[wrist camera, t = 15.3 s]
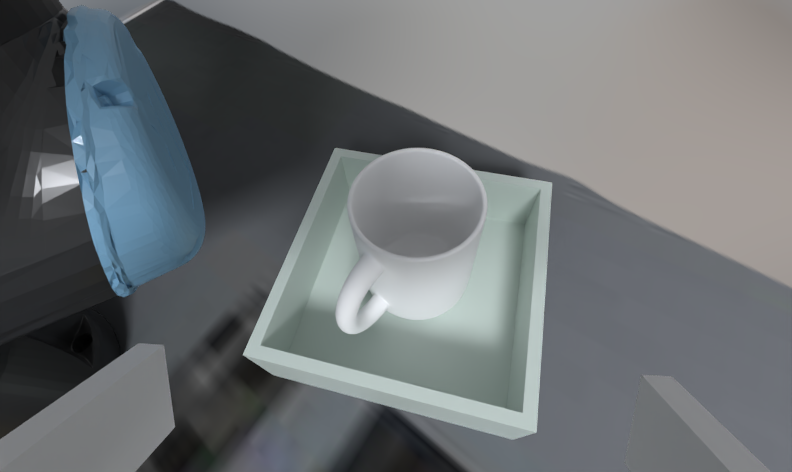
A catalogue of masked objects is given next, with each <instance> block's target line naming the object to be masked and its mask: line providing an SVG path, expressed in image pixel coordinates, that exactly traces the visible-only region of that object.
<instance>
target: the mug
mask: <svg viewBox="0 0 792 472" xmlns="http://www.w3.org/2000/svg"><path fill="white" fill-rule="evenodd" d="M487 209H488V201H487V195H486V191H485V188H484V186H483V184H482V182H481V180H480V178H479V177H478V175H477V174H476V173H475V172H474V170H473V169H472V168H471V167H470V166H468V165H467V164H466V163H465V162H463V161H462V160H460V159H459V158H457V157H455V156H453V155H451V154H448V153H446V152H443V151H439V150H435V149H429V148H407V149H400V150H396V151H393V152H390V153H387V154H385V155H383V156H381V157H378V158H377V159H375V160H374V161H372V162H371V163H369V164H368V165H367V166H366V167H365V168H364V169H363V170H362V171H361V172H360V173H359V174H358V176H357V177H356V178H355V180H354V182H353V184H352V186H351V189H350V191H349V195H348V200H347V211H348V217H349V220H350V224H351V228H352V232H353V235H354V239H355V243H356V246H357V250H358V254H359V257H360V260H359V261H358V262H357V263H356V265H355V266H354V268H353V269H352V271H351V272H350V274H349V275H348V277H347V279H346V281H345V283H344V284H343V287H342V289H341V291H340V294H339V297H338V301H337V305H336V312H335V315H336V321H337V324H338V326H339V328H340V329H341V330H342V331H343V332H345V333H347V334H358V333H360V332H363V331H364V330H366V329H368V328H369V327H370V326H371V325H373V324H374V323H375V322H376V321H377V320H378V319H379V318H380V317H381V316H382V315H383V314H384V313H385V311H386V310H387V311H388V312H389V313H391V314H393V315H395V316H398V317H401V318H405V319H409V320H425V319H430V318H434V317H437V316H439V315H441V314H443V313H445V312H447V311H448V310H449V309H451V308H452V307H453V306H454V305H455V304H456V303H457V302H458V301H459V299H460V298H461V296H462V295H463V293H464V291H465V289H466V287H467V284H468V281H469V278H470V274H471V270H472V267H473V263H474V259H475V256H476V252H477V248H478V245H479V241H480V238H481V234H482V230H483V227H484V223H485V219H486V216H487ZM368 290H370V292H371V294H372V295H373V296H372V297H371V299H370V300H369V301H368V302H367V303H366V304H365V305H364V306H363V307H362V308H361V309H360V310H359V307H360V305H361V302H362V300H363V299H364V297H365V295H366V293H367V292H368ZM358 310H359V311H358Z"/></svg>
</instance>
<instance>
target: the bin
mask: <svg viewBox="0 0 792 472" xmlns="http://www.w3.org/2000/svg"><path fill="white" fill-rule="evenodd" d="M381 156H383V155H377V154H371V153H365V152H358V151H352V150H346V149H340V148H335V149H334V151H333V153H332V156H331V158H330V160H329V162H328V165H327V167H326V169H325V171H324V174H323V176H322V178H321V180H320V183H319V185H318V187H317V189H316V192H315V194H314V196H313V198H312V201H311V203H310V205H309V207H308V210H307V212H306V214H305V216H304V219H303V221H302V223H301V225H300V227H299V230H298V232H297V234H296V236H295V239H294V241H293V243H292V245H291V248H290V250H289V252H288V254H287V257H286V259H285V261H284V263H283V266H282V268H281V270H280V272H279V275H278V277H277V279H276V281H275V284H274V286H273V288H272V290H271V293H270V295H269V297H268V299H267V302H266V304H265V306H264V308H263V311H262V313H261V315H260V317H259V320H258V322H257V324H256V326H255V329H254V331H253V333H252V335H251V338H250V340H249V342H248V344H247V347H246V349H245V351H244V353H243V355H244V356H245V357H247V358H248V359H250V360H251V361H253V362H254V363H256V364H257V365H259V366H260V367H262V368H263V369H265V370H266V371H268V372H269V373H271V374H272V375H275V376H278V377H282V378H286V379H290V380H293V381H297V382H301V383H304V384H308V385H312V386H315V387H319V388H323V389H327V390H330V391H334V392H338V393H341V394H345V395H349V396H353V397H356V398H360V399H364V400H367V401H371V402H375V403H378V404H382V405H386V406H390V407H393V408H397V409H401V410H404V411H408V412H412V413H416V414H419V415H423V416H427V417H430V418H434V419H438V420H442V421H445V422H449V423H453V424H456V425H460V426H464V427H467V428H471V429H475V430H479V431H482V432H486V433H490V434H493V435H497V436H501V437H505V438H508V439H512V440H514V439H517V438H520V437H523V436H527V435H530V434H533V433H536V432H537V416H538V400H539V385H540V369H541V353H542V337H543V321H544V305H545V289H546V273H547V257H548V241H549V226H550V210H551V194H552V183H551V182H545V181H539V180H533V179H527V178H520V177H514V176H508V175H502V174H495V173H489V172H483V171H477V170H474V172H475V173H476V174H477V175H478V177H479V178H480V180H481V182H482V184H483V186H484V188H485V191H486V195H487V201H488V209H487V216H486V219H485V223H484V227H483V230H482V234H481V238H480V241H479V245H478V248H477V252H476V256H475V259H474V263H473V267H472V270H471V274H470V278H469V281H468V284H467V287H466V289H465V291H464V293H463V295H462V296H461V298H460V299H459V301H458V302H457V303H456V304H455V305H454V306H453V307H452V308H451V309H449V310H448V311H447V312H445V313H443V314H441V315H439V316H437V317H434V318H430V319H425V320H409V319H405V318H401V317H398V316H395V315H393V314H391V313H389V312H388V311H387V310H386V311H385V313H384V314H383V315H382V316H381V317H380V318H379V319H378V320H377V321H376V322H375V323H374V324H373V325H371V326H370V327H369V328H368V329H366V330H364V331H363V332H360V333H358V334H347V333H345V332H343V331H342V330H341V329H340V328H339V326H338V324H337V321H336V315H335V312H336V305H337V301H338V297H339V294H340V291H341V289H342V287H343V284H344V283H345V281H346V279H347V277H348V275H349V274H350V272H351V271H352V269H353V268H354V266H355V265H356V263H357V262H358V261H359V260H360V257H359V254H358V250H357V246H356V243H355V239H354V235H353V232H352V228H351V224H350V220H349V217H348V211H347V200H348V195H349V191H350V189H351V186H352V184H353V182H354V180H355V178H356V177H357V176H358V174H359V173H360V172H361V171H362V170H363V169H364V168H365V167H366V166H367V165H368V164H369V163H371V162H372V161H374V160H375V159H377V158H378V157H381ZM372 296H373V295H372V294H371V292H370V290H368V292H367V293H366V295H365V297H364V299H363V300H362V302H361V305H360V307H359V310H360V309H361V308H362V307H363V306H364V305H365V304H366V303H367V302H368V301H369V300H370V299H371V297H372ZM359 310H358V311H359Z"/></svg>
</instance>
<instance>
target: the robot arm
mask: <svg viewBox="0 0 792 472" xmlns="http://www.w3.org/2000/svg"><path fill="white" fill-rule="evenodd" d="M205 229H206V227H205V215H204V209H203V204H202V200H201V195H200V192H199V188H198V185H197V182H196V179H195V175H194V172H193V169H192V166H191V163H190V160H189V158H188V155H187V152H186V149H185V147H184V144H183V141H182V139H181V136H180V134H179V131H178V129H177V126H176V124H175V121H174V119H173V116H172V114H171V112H170V109H169V107H168V105H167V103H166V100H165V98H164V96H163V94H162V92H161V89H160V87H159V85H158V83H157V81H156V79H155V77H154V75H153V73H152V71H151V69H150V67H149V65H148V63H147V61H146V59H145V58H144V56H143V54H142V53H141V51H140V50H139V49H138V48H137V47H136V45H135V43H134V41H133V39H132V37H131V35H130V33H129V31H128V30H127V28H126V27H125V25H124V24H123V23H122V22H121V21H120V20H119V19H118V18H117V17H116V16H115V15H113V14H112V13H110V12H109V11H107V10H104V9H90V8H88V7H86V6H83V5H81V6H77V7H74V8H71V9H70V10H69V11H67V10H66V9H65V8H64V7H63V6H62V4H61V3H60V2H59V0H0V472H135V471H136V470H137V469H138V468H139V467H140V466H141V465H142V463H143V462H144V461H145V460H146V459H147V458H148V457H149V456H150V454H151V453H152V452H153V451H154V450H155V449H156V448H157V447H158V445H159V444H160V443H161V442H162V441H163V440H164V439H165V438H166V436H167V435H168V434H169V433H170V432H171V431H172V430H173V429H174V427H175V424H174V417H173V409H172V402H171V394H170V387H169V379H168V372H167V365H166V357H165V350H164V345H158V344H142V343H138V344H137V345H135V346H134V347H132V348H131V349H130V350H128V351H127V352H125V353H124V354H122V355H121V356H120V352H119V346H118V341H117V338H116V335H115V333H114V331H113V329H112V327H111V326H110V324H109V323H108V322H107V321H106V319H105V318H104V317H102V316H101V315H100V314H99V313H97V312H96V311H94V310H92V309H91V308H89V307H92V306H94V305H97V304H99V303H101V302H104V301H106V300H108V299H111V298H113V297H115V296H122V297H125V296H128V295H131V294H132V293H134V292H135V291H136V289H137V288H138V286H140V285H142V284H144V283H146V282H148V281H150V280H153V279H155V278H157V277H159V276H161V275H163V274H165V273H167V272H169V271H172V270H174V269H176V268H178V267H180V266H182V265H184V264H186V263H187V262H188V261H190V260H191V259H192V258H193V257H194V256H195V255H196V254H197V253H198V251H199V250H200V248H201V246H202V244H203V241H204V237H205ZM625 464H626V466H627V467H628V469H629V471H630V472H771V471H770V470H769V469H768V468H767V467H765V466H764V465H763V464H762V463H761V462H760V461H759V460H758V459H757V458H756V457H755V456H754V455H753V454H752V453H751V452H750V451H749V450H748V449H747V448H746V447H745V446H744V445H743V444H742V443H741V442H739V441H738V440H737V439H736V438H735V437H734V436H733V435H732V434H731V433H730V432H729V431H728V430H727V429H726V428H725V427H724V426H723V425H722V424H721V423H720V422H719V421H718V420H717V419H716V418H715V417H714V416H712V415H711V414H710V413H709V412H708V411H707V410H706V409H705V408H704V407H703V406H702V405H701V404H700V403H699V402H698V401H697V400H696V399H695V398H694V397H693V396H692V395H691V394H690V393H689V392H688V391H687V390H685V389H684V388H683V387H682V386H681V385H680V384H679V383H678V382H677V381H676V380H675V379H674V378H673V377H671V376H655V375H641V379H640V384H639V389H638V395H637V400H636V405H635V410H634V416H633V421H632V426H631V431H630V436H629V442H628V447H627V452H626V457H625Z"/></svg>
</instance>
